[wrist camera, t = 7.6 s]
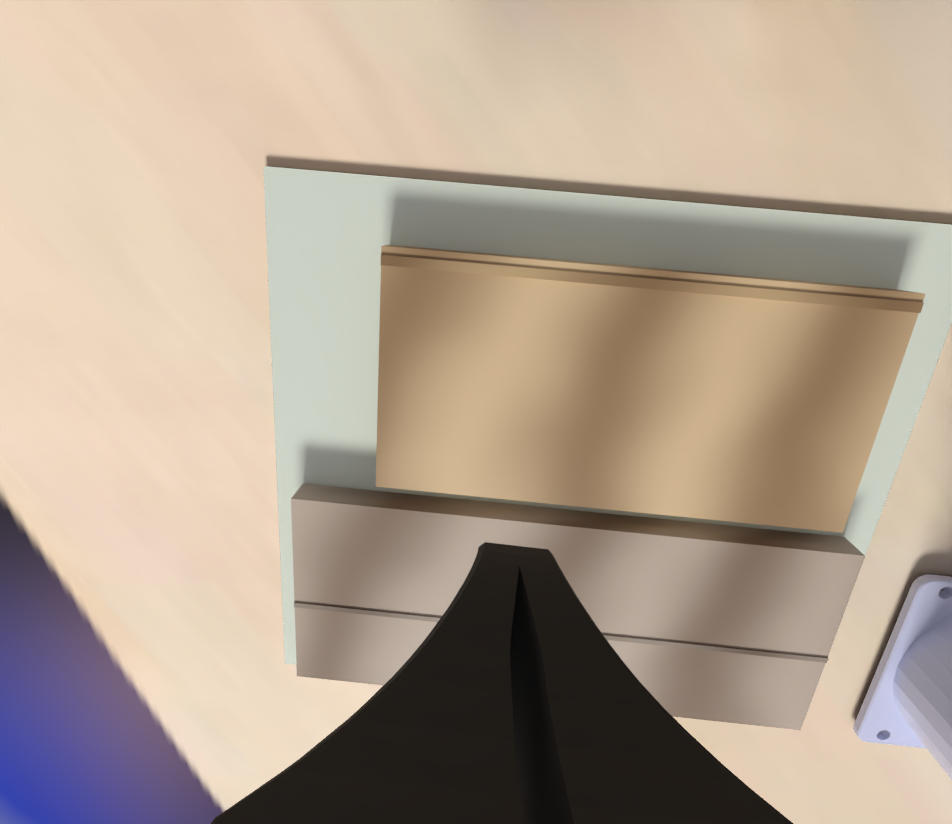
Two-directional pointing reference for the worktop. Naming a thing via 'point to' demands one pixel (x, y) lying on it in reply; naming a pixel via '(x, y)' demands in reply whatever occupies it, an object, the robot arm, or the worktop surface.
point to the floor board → (579, 593)
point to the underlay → (552, 237)
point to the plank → (633, 385)
